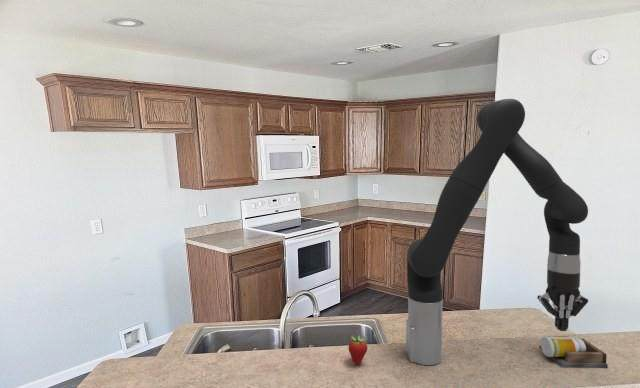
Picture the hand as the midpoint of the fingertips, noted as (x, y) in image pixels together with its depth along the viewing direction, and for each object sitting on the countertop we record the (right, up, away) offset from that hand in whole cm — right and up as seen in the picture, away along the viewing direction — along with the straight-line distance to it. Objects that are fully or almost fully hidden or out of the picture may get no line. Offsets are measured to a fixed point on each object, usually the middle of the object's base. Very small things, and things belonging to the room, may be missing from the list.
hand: (561, 329), depth 99 cm
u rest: (+3, -8, 0) cm, 9 cm away
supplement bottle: (-5, -4, 0) cm, 7 cm away
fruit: (-57, -9, -2) cm, 58 cm away
